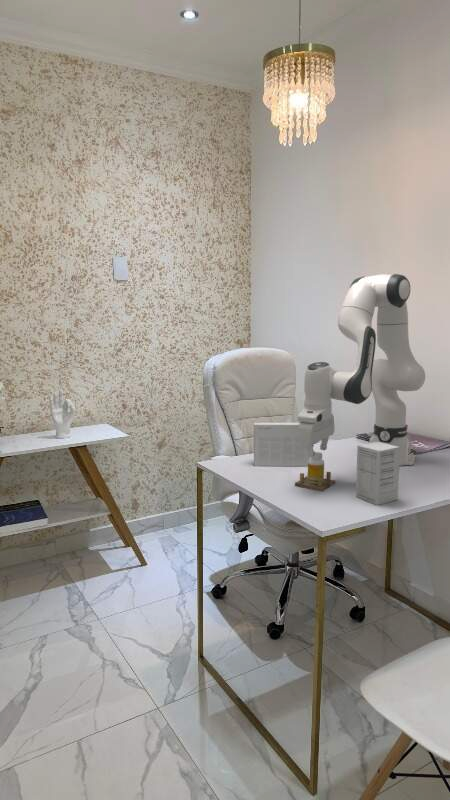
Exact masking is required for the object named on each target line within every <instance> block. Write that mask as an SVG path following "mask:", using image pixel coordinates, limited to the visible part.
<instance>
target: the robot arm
mask: <svg viewBox="0 0 450 800" xmlns="http://www.w3.org/2000/svg"><path fill="white" fill-rule="evenodd" d="M410 294H411V283H410V281H409V280H408V278H407V277H406V276H405V275H403V274H399V273H393V274H389V273H388V274H385V273H384V274H383V273H381V274H376V275H368V276H361V277H357V278H355V279H354V280H353V281H352V282H351V284H350V285H349V289H348V291H347V293H346V295H345V297H344V299H343V302H342V304H341V307H340V310H339V313H338V317H337V327H338V330H339V331H340V332H341V334H343V336H345V337H346V338H347V339H349V340H351V341H353V342H355V343H356V344H357V347H358V349H357V356H356V363H355V364H356V365H355V369H354V370H353V371H344V370H343V371H341V370H337V369H335V368H333V367H331V364H330V363H329V362H325V361H319V362H318V361H317V362H313V363H311V364H309V365H307V367H306V369H305V374H304V389H303V390H304V395H305V398H304V407H303V408H302V410H301V411H300V412H299V414H298V415H297V421H298V423H299V442H300V445H302V446H306V448H307V451H308V457H313V456H315V452H316V451H314V447H315V444H317V443H319V442H321V443H320V445H319V449H320V450H321V451H326V450H327V448H328V443H329V437H330V436H333V434H335V417H334V414H333V413H332V403H333V402H332V400H337V401H343V402H348V403H351V404H355V405H359V404H362V403H364V402H365V401H366V400H367V399H369V397H370V396H371V394H372V395H373V398H374V399H373V400H374V402H375V404H374V405H375V421H374V422H375V424H374V425H373V435H372V436H371V437H370V438H369V443H372V442H381V443H385V444H389V445H394V446H398V447H400V458H399V467H400V466H414V465H415V462H416V459H415V457H416V458H417V454H416V455H413V454H411V452H412V451H411V450H412V449H411V448H412V442H411V440H410V439H409V438H408V436H407V435H408V424H406V421H407V405H406V403H405V402H404V401H403V400H402V399H401V398H400V397H399V394H398V391H400V392H414V391H418V390H420V389H421V388H422V387H423V385H424V384H425V381H426V372H425V369H424V368H423V366H422V365H421V364H419V362H418V361H417V360H416V359H415V357H414V355H413V352H412V349H411V346H410V341H409V316H408V315H409V314H408V307H407V301H408V299H409V298H410ZM376 307H377V313H376V331H375V329H374V328H373V325H372V323H373V322H372V321H373V317H374V313H375V309H376ZM376 342H377V343H376ZM376 344H377V346H378V347H379V348H380V350H382V351H383V352H384V354H385V356H386V359H383V358H379V359H374V358H375V352H376ZM414 461H415V462H414ZM413 464H414V465H413Z"/></svg>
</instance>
